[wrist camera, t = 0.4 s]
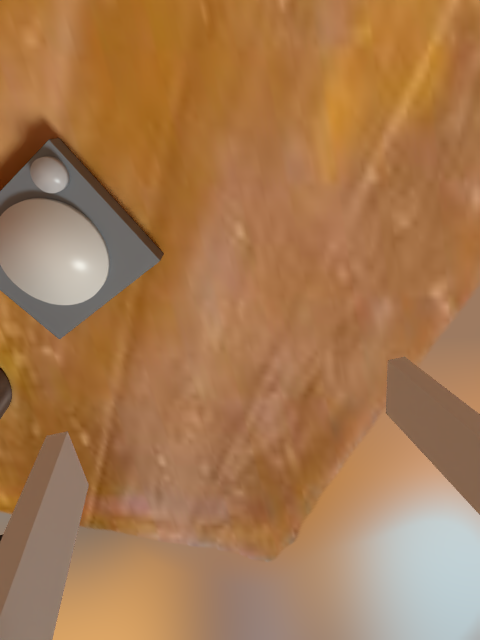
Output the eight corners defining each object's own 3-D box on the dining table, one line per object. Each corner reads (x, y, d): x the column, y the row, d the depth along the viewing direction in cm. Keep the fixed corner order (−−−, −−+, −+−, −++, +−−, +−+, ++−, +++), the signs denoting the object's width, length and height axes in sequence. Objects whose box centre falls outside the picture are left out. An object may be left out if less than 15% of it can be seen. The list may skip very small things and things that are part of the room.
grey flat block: (58, 137, 34) (43, 140, 31) (163, 253, 39) (158, 264, 37) (-39, 240, 39) (-59, 249, 36) (66, 330, 44) (55, 344, 42)
